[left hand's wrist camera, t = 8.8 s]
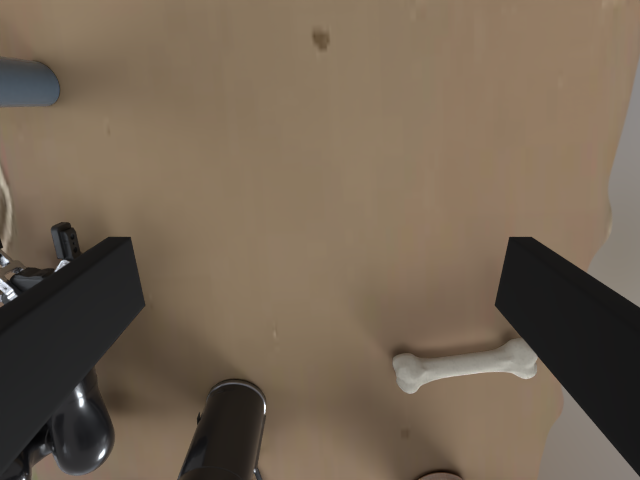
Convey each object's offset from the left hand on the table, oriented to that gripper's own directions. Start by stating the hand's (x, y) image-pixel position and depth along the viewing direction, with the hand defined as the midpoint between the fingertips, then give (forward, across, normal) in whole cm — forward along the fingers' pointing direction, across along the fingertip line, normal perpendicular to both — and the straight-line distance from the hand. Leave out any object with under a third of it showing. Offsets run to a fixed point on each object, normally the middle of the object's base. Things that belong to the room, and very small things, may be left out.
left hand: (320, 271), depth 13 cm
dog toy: (+32, +21, -30) cm, 49 cm away
